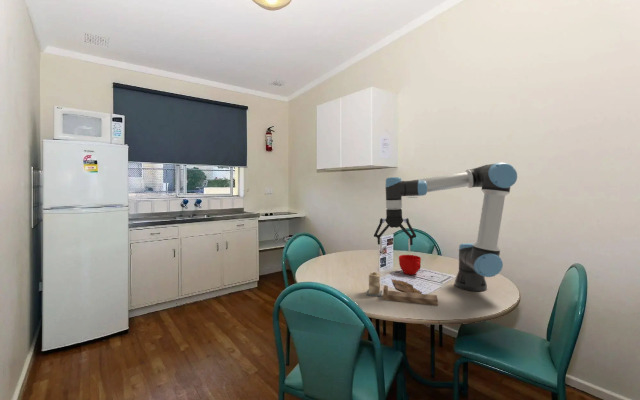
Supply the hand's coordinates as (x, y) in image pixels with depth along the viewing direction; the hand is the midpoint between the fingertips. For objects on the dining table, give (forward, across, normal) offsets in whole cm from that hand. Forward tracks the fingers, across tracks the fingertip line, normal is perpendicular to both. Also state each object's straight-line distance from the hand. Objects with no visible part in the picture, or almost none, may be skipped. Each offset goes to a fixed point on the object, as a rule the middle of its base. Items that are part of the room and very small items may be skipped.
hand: (395, 251), depth 143 cm
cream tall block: (+20, +10, +3) cm, 23 cm away
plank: (+22, -6, +6) cm, 23 cm away
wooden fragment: (+22, -3, -11) cm, 25 cm away
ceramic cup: (+22, -8, -36) cm, 43 cm away
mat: (+21, +10, +3) cm, 24 cm away
